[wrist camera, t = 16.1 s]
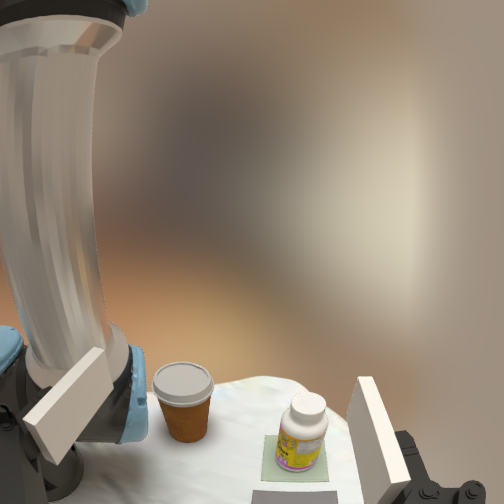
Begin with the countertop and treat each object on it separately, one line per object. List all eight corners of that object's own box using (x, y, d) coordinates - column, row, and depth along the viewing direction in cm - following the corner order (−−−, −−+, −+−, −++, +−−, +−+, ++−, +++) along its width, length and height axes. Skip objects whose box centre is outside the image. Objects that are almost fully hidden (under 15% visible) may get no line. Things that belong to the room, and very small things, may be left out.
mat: (261, 480, 34) (261, 480, 34) (264, 435, 44) (265, 434, 44) (328, 481, 33) (328, 481, 33) (323, 436, 43) (323, 436, 43)
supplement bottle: (272, 445, 41) (280, 388, 38) (311, 441, 42) (325, 385, 39) (277, 475, 35) (288, 421, 32) (320, 470, 35) (339, 415, 32)
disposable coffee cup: (225, 439, 42) (225, 387, 39) (171, 456, 37) (161, 404, 34) (201, 406, 50) (198, 355, 47) (153, 418, 45) (143, 366, 42)
